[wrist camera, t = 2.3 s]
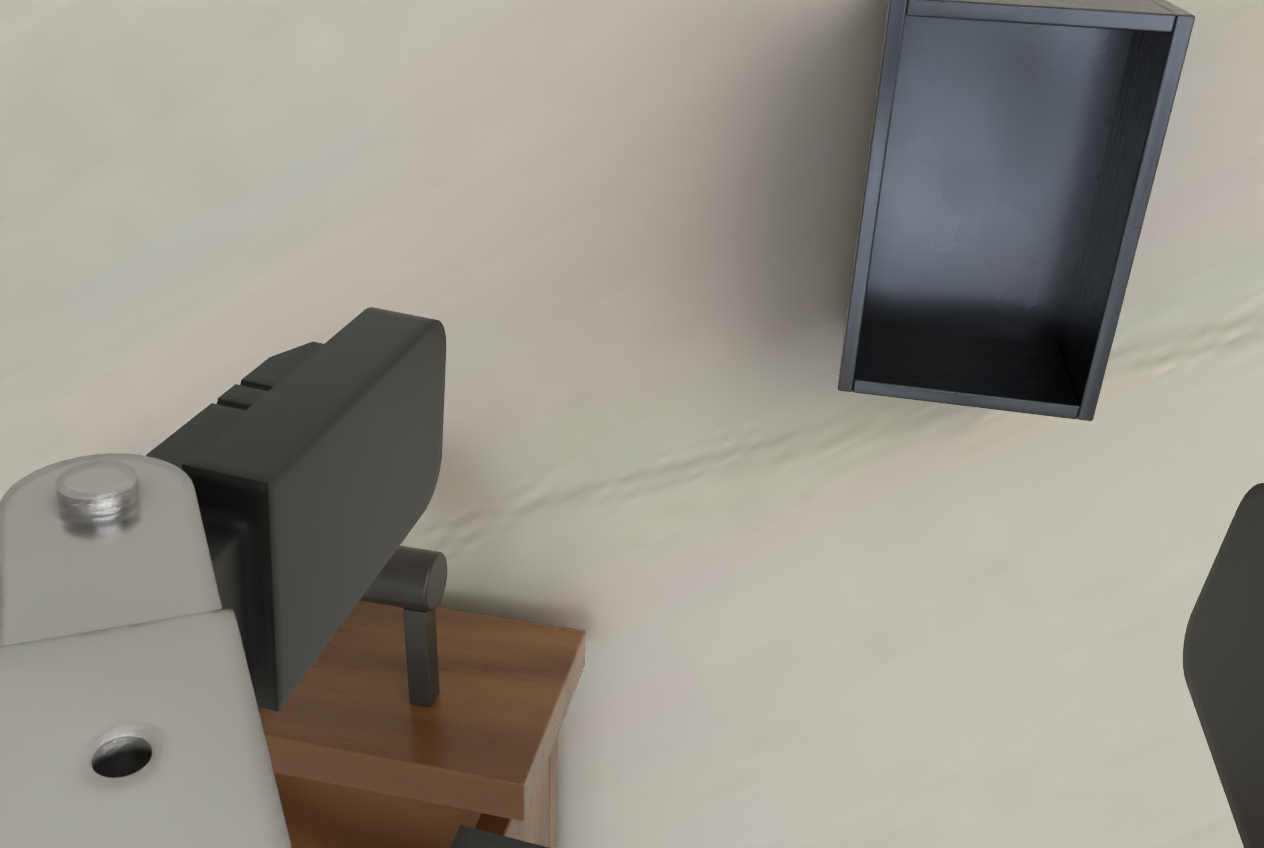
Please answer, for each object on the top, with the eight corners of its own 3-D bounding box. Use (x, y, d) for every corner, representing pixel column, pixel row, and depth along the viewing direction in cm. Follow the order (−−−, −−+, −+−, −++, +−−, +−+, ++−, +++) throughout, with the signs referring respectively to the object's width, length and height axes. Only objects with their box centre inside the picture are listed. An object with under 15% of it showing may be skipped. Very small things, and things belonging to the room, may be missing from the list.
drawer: (181, 436, 30) (37, 552, 25) (588, 494, 28) (521, 632, 23) (261, 911, 39) (166, 1069, 34) (578, 981, 37) (527, 1158, 32)
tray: (1154, -7, 22) (1196, 16, 19) (1069, 353, 25) (1092, 421, 22) (891, -23, 22) (890, -4, 19) (844, 328, 26) (837, 391, 23)
